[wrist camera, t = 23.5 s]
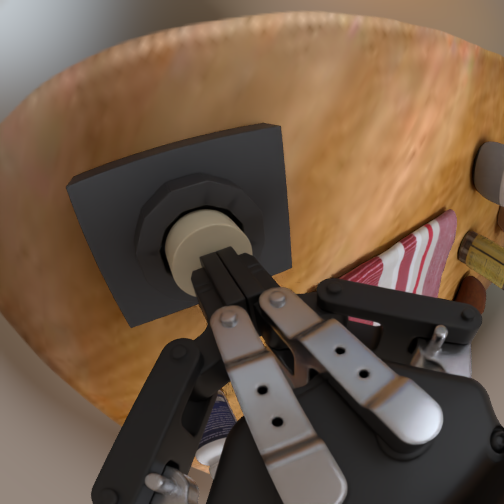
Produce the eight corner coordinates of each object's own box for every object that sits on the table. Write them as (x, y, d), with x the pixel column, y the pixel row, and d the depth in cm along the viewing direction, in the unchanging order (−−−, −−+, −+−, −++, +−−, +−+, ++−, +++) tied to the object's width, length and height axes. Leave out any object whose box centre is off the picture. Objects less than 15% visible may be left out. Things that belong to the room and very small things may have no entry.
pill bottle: (167, 399, 25) (196, 482, 18) (212, 378, 26) (251, 460, 19) (190, 416, 29) (219, 487, 21) (229, 398, 30) (266, 467, 22)
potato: (472, 263, 47) (498, 282, 41) (462, 297, 54) (485, 314, 48) (455, 283, 46) (483, 304, 40) (445, 316, 53) (468, 335, 47)
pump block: (128, 307, 19) (133, 347, 16) (72, 176, 13) (58, 197, 10) (277, 253, 22) (305, 281, 19) (263, 122, 17) (298, 129, 13)
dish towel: (427, 294, 40) (438, 303, 38) (315, 375, 35) (325, 388, 33) (446, 205, 31) (461, 213, 28) (305, 288, 25) (322, 305, 23)
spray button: (176, 286, 15) (185, 309, 14) (155, 223, 13) (160, 241, 12) (242, 262, 17) (257, 281, 15) (231, 198, 14) (247, 212, 13)
